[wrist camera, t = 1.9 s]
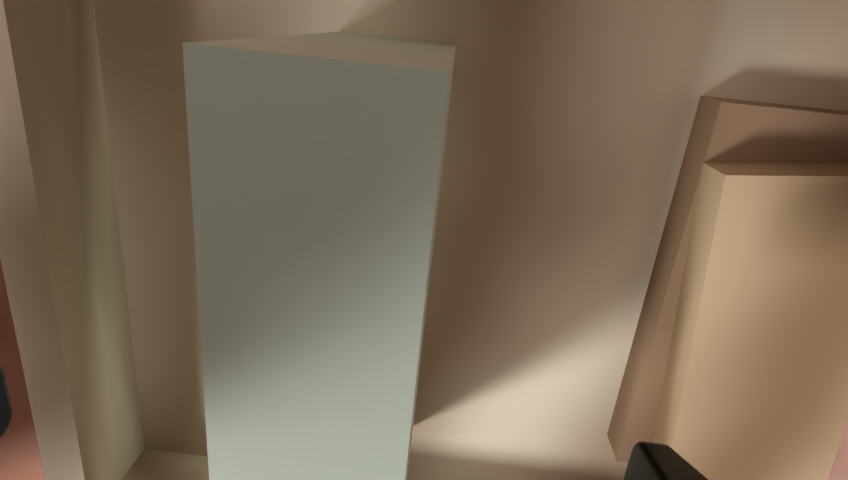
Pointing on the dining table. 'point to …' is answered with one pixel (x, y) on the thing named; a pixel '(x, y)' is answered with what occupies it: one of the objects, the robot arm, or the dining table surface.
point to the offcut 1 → (708, 143)
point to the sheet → (314, 246)
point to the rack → (455, 224)
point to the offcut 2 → (761, 325)
